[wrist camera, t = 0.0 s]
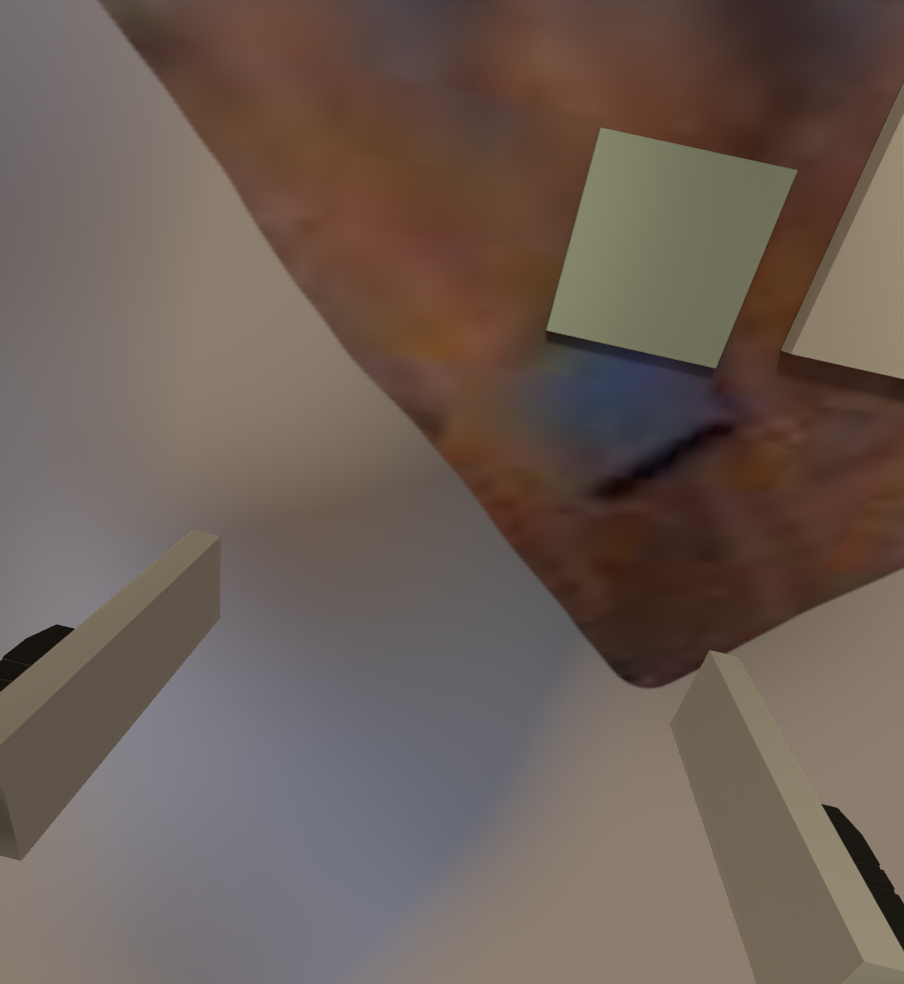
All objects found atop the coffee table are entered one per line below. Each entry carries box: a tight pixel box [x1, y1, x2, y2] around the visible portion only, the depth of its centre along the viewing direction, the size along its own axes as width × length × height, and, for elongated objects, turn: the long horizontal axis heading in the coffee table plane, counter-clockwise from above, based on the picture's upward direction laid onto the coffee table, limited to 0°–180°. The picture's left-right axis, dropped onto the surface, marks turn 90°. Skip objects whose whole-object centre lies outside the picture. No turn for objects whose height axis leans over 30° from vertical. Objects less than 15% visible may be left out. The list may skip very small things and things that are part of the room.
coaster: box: [546, 128, 798, 368], centre depth 34 cm, size 12×12×1 cm
